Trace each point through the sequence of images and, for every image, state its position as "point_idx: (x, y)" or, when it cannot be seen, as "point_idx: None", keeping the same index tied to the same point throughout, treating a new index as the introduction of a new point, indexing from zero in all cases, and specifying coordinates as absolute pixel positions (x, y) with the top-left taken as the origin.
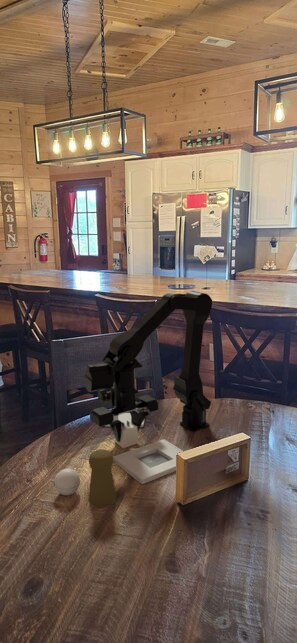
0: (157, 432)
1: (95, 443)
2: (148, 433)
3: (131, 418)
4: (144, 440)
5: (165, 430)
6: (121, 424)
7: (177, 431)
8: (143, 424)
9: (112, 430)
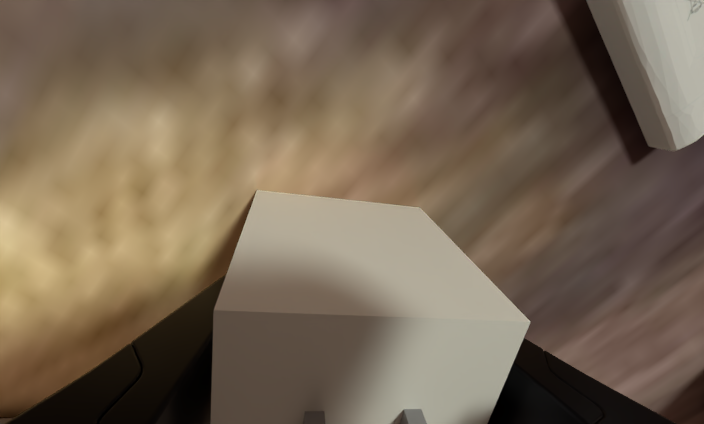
0: (611, 293)
1: (36, 61)
2: (566, 264)
3: (571, 419)
4: None
5: (662, 304)
6: (337, 373)
7: (676, 357)
8: (689, 135)
9: (132, 347)
